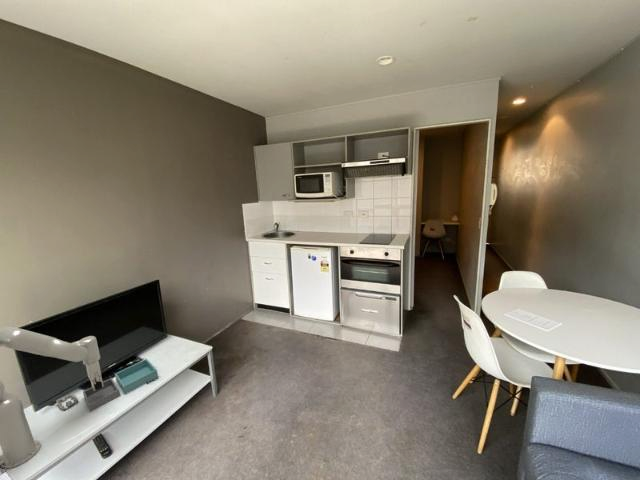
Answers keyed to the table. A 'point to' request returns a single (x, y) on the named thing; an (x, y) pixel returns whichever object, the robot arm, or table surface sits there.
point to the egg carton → (68, 401)
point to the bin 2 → (136, 376)
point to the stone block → (94, 383)
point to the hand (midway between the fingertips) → (97, 386)
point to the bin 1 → (101, 394)
